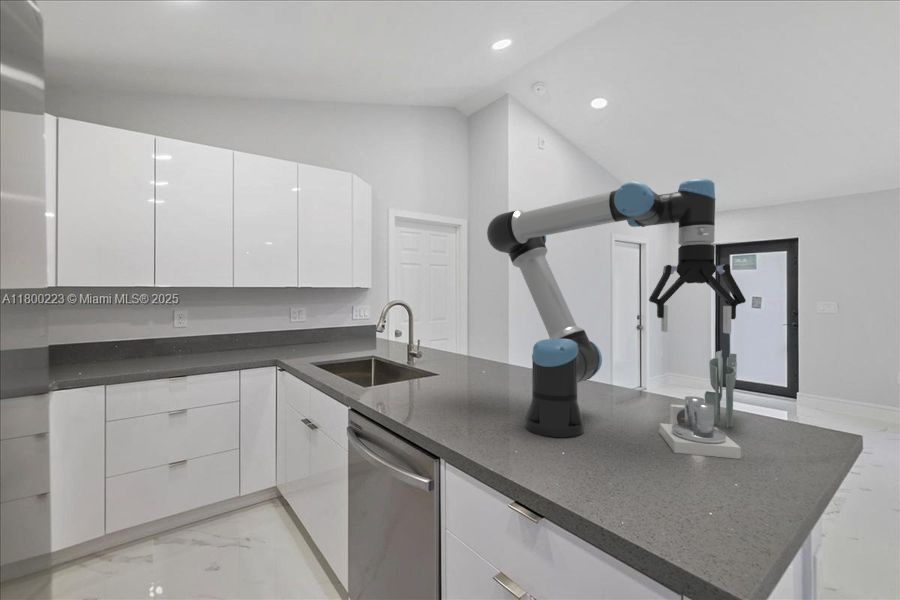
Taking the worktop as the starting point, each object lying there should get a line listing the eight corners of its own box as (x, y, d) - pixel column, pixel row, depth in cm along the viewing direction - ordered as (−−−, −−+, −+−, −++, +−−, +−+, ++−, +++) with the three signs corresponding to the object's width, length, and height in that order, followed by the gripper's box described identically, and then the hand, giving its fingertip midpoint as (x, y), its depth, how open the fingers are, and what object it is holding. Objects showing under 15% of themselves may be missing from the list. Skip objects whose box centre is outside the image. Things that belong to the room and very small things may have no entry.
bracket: (733, 439, 101) (734, 359, 101) (699, 433, 105) (700, 356, 105) (736, 414, 123) (737, 348, 123) (709, 410, 127) (709, 346, 127)
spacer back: (682, 423, 101) (682, 395, 101) (700, 425, 100) (700, 397, 100) (687, 428, 97) (687, 399, 97) (706, 430, 96) (706, 400, 96)
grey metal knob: (690, 431, 95) (690, 401, 95) (709, 433, 94) (710, 403, 94) (696, 437, 91) (696, 406, 91) (716, 438, 90) (716, 407, 90)
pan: (678, 440, 92) (679, 436, 92) (666, 425, 102) (666, 421, 102) (734, 445, 89) (734, 440, 89) (715, 429, 100) (715, 425, 100)
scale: (674, 452, 92) (674, 421, 91) (657, 429, 107) (657, 403, 107) (740, 459, 88) (741, 427, 88) (712, 434, 104) (713, 407, 104)
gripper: (643, 244, 98) (642, 332, 98) (763, 241, 91) (762, 335, 92) (637, 248, 105) (636, 329, 105) (748, 245, 99) (747, 332, 99)
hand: (695, 332), depth 98 cm, fingers open, 13 cm apart
